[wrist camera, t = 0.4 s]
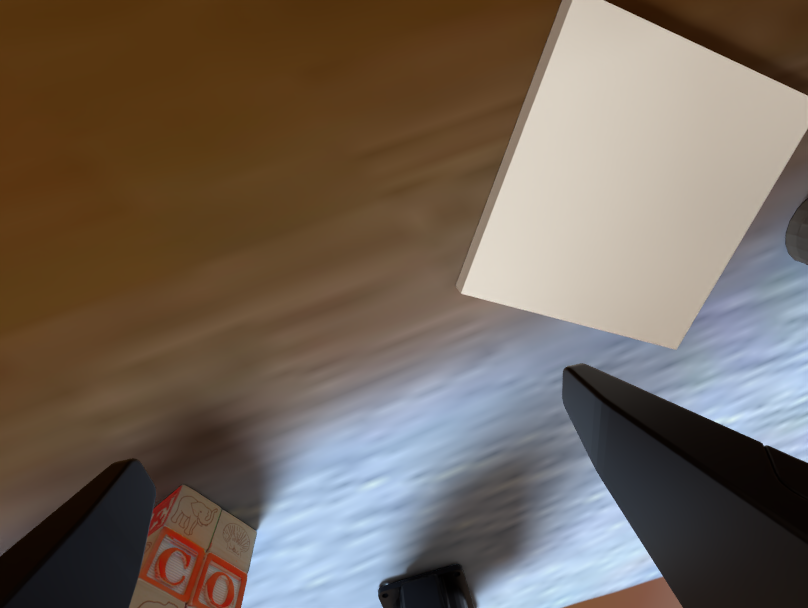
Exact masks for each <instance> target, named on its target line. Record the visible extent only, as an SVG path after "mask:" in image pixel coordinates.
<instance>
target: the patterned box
mask: <svg viewBox="0 0 808 608" xmlns="http://www.w3.org/2000/svg"><path fill="white" fill-rule="evenodd" d="M256 535H257V531H255V530H254V529H252V528H251V527H249V526H248V525H246V524H245V523H243V522H242V521H240V520H239V519H237V518H236V517H234V516H232V515H231V514H229V513H228V512H226V511H225V510H222V509H221V508H220V507H219V506H218V505H216V504H215V503H213V502H211V501H210V500H208V499H207V498H205V497H204V496H202V495H201V494H199V493H198V492H196V491H194V490H193V489H191V488H189V487H187V486H185V485H181V486H180V487H179V488H178V489H176V490H175V491H174V492H173V493H172V494H170V495H169V496H168V497H167V498H166V499H164V500H163V501H162V502H161V503H159V504H158V505H157V506H156V507H155V508H153V513H152V517H151V522H150V527H149V532H148V537H147V542H146V546H145V551H144V556H143V561H142V565H141V569H140V573H139V577H138V580H137V584H136V587H135V590H134V593H133V597H132V600H131V603H130V606H129V608H241V605H242V601H243V596H244V591H245V587H246V582H247V573H248V571H249V567H250V562H251V557H252V553H253V548H254V544H255V539H256Z"/></svg>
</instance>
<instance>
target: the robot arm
mask: <svg viewBox="0 0 808 608" xmlns="http://www.w3.org/2000/svg"><path fill="white" fill-rule="evenodd" d="M562 398H563V403H564V406H565V409H566V411H567V413H568V415H569V417H570V419H571V421H572V423H573V425H574V427H575V429H576V431H577V433H578V435H579V437H580V439H581V441H582V443H583V445H584V447H585V449H586V451H587V453H588V455H589V457H590V459H591V461H592V463H593V465H594V467H595V469H596V471H597V473H598V474H599V476H600V478H601V479H602V481H603V482H604V484H605V486H606V487H607V489H608V490H609V492H610V493H611V495H612V497H613V498H614V500H615V501H616V503H617V504H618V506H619V508H620V509H621V511H622V512H623V514H624V515H625V517H626V519H627V520H628V522H629V523H630V525H631V527H632V528H633V530H634V531H635V533H636V534H637V536H638V538H639V539H640V541H641V542H642V544H643V545H644V547H645V549H646V550H647V552H648V553H649V555H650V556H651V558H652V560H653V561H654V563H655V564H656V566H657V567H658V569H659V571H660V572H661V574H662V575H663V577H664V578H665V580H666V582H667V583H668V585H669V586H670V588H671V589H672V591H673V593H674V594H675V595H676V597H677V599H678V600H679V602H680V604H681V605H682V607H683V608H808V463H807V462H804V461H802V460H800V459H797V458H795V457H793V456H790V455H788V454H786V453H784V452H781V451H779V450H777V449H775V448H772V447H770V446H768V445H766V446H764V445H763V444H762V443H761V442H759V441H756V440H754V439H752V438H750V437H748V436H745V435H743V434H741V433H739V432H736V431H734V430H732V429H730V428H727V427H725V426H723V425H721V424H718V423H716V422H714V421H712V420H710V419H707V418H705V417H703V416H701V415H698V414H696V413H694V412H692V411H689V410H687V409H685V408H683V407H680V406H678V405H676V404H674V403H672V402H669V401H667V400H665V399H663V398H660V397H658V396H656V395H654V394H651V393H649V392H647V391H645V390H642V389H640V388H638V387H636V386H634V385H631V384H629V383H627V382H625V381H622V380H620V379H618V378H616V377H613V376H611V375H609V374H607V373H604V372H602V371H600V370H598V369H596V368H593V367H591V366H589V365H586V364H583V363H581V364H576V365H571V366H567V367H565V368H564V371H563V389H562ZM155 498H156V489H155V485H154V483H153V481H152V480H151V478H150V477H149V475H148V473H147V472H146V470H145V469H144V467H143V465H142V464H141V462H140V461H139V460H137V459H127V460H123V461H118V462H115V463H113V464H111V465H110V466H109V467H108V468H106V469H105V470H104V471H103V472H102V473H100V474H99V475H98V476H97V477H96V478H94V479H93V480H92V481H91V482H89V483H88V484H87V485H86V486H85V487H83V488H82V489H81V490H80V491H79V492H77V493H76V494H75V495H74V496H73V497H71V498H70V499H69V500H68V501H67V502H65V503H64V504H63V505H62V506H61V507H59V508H58V509H57V510H56V511H55V512H53V513H52V514H51V515H50V516H49V517H47V518H46V519H45V520H44V521H42V522H41V523H40V524H39V525H38V526H36V527H35V528H34V529H33V530H32V531H30V532H29V533H28V534H27V535H26V536H24V537H23V538H22V539H21V540H20V541H18V542H17V543H16V544H15V545H14V546H12V547H11V548H10V549H9V550H8V551H6V552H5V553H4V554H3V555H2V556H0V608H129V606H130V603H131V600H132V597H133V593H134V590H135V587H136V584H137V580H138V577H139V573H140V569H141V565H142V561H143V556H144V551H145V546H146V542H147V537H148V532H149V527H150V522H151V517H152V513H153V508H154V503H155ZM378 596H379V600H380V602H381V604H382V606H383V608H474V605H473V602H472V598H471V595H470V592H469V589H468V585H467V582H466V579H465V575H464V572H463V569H462V566H461V565H452V566H449V567H446V568H442V569H439V570H435V571H432V572H429V573H425V574H422V575H419V576H415V577H412V578H409V579H405V580H402V581H399V582H395V583H392V584H388V585H385V586H382V587H380V588H379V590H378Z"/></svg>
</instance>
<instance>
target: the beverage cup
mask: <svg viewBox="0 0 808 608" xmlns="http://www.w3.org/2000/svg"><path fill="white" fill-rule="evenodd" d="M786 247H787V250H788V253H789V255H790V256H791V257H792V258H793V259H794V260H796V261H799V262H802V263H805V264H806V265H808V199H807V200H806V201H805V202H804V203H803V204H802V205H801V206H800V207H799V208H798V209H797V211H796V213H795V214H794V216H793V217H792V219H791V221H790V223H789V226H788V229H787V232H786Z"/></svg>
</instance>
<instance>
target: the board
mask: <svg viewBox="0 0 808 608" xmlns="http://www.w3.org/2000/svg"><path fill="white" fill-rule="evenodd" d="M807 129H808V96H807V95H805V94H803V93H801V92H799V91H797V90H794V89H792V88H790V87H788V86H786V85H784V84H782V83H779V82H777V81H775V80H773V79H771V78H769V77H767V76H764V75H762V74H760V73H758V72H756V71H754V70H752V69H750V68H747V67H745V66H743V65H741V64H739V63H737V62H735V61H732V60H730V59H728V58H726V57H724V56H722V55H720V54H717V53H715V52H713V51H711V50H709V49H707V48H705V47H702V46H700V45H698V44H696V43H694V42H692V41H690V40H688V39H685V38H683V37H681V36H679V35H677V34H675V33H673V32H670V31H668V30H666V29H664V28H662V27H660V26H658V25H655V24H653V23H651V22H649V21H647V20H645V19H643V18H641V17H638V16H636V15H634V14H632V13H630V12H628V11H626V10H623V9H621V8H619V7H617V6H615V5H613V4H611V3H608V2H606V1H604V0H562V2H561V5H560V7H559V10H558V13H557V15H556V18H555V21H554V23H553V26H552V29H551V31H550V34H549V37H548V39H547V42H546V45H545V47H544V50H543V53H542V56H541V58H540V61H539V64H538V66H537V69H536V72H535V74H534V77H533V80H532V82H531V85H530V88H529V90H528V93H527V96H526V98H525V101H524V104H523V106H522V109H521V112H520V114H519V117H518V120H517V122H516V125H515V128H514V130H513V133H512V136H511V138H510V141H509V144H508V147H507V149H506V152H505V155H504V157H503V160H502V163H501V165H500V168H499V171H498V173H497V176H496V179H495V181H494V184H493V187H492V189H491V192H490V195H489V197H488V200H487V203H486V205H485V208H484V211H483V213H482V216H481V219H480V221H479V224H478V227H477V230H476V232H475V235H474V238H473V240H472V243H471V246H470V248H469V251H468V254H467V256H466V259H465V262H464V264H463V267H462V270H461V272H460V275H459V278H458V280H457V283H456V287H457V288H458V290H459V291H460V293H461V294H465V295H469V296H473V297H476V298H480V299H484V300H488V301H492V302H496V303H499V304H503V305H507V306H511V307H515V308H518V309H522V310H526V311H530V312H534V313H538V314H541V315H545V316H549V317H553V318H557V319H561V320H564V321H568V322H572V323H576V324H580V325H583V326H587V327H591V328H595V329H599V330H603V331H606V332H610V333H614V334H618V335H622V336H626V337H629V338H633V339H637V340H641V341H645V342H648V343H652V344H656V345H660V346H664V347H668V348H671V349H675V350H677V348H678V346H679V345H680V343H681V341H682V340H683V338H684V336H685V334H686V333H687V331H688V329H689V328H690V326H691V324H692V323H693V321H694V319H695V318H696V316H697V314H698V313H699V311H700V309H701V308H702V306H703V304H704V302H705V301H706V299H707V297H708V296H709V294H710V292H711V291H712V289H713V287H714V286H715V284H716V282H717V281H718V279H719V277H720V275H721V274H722V272H723V270H724V269H725V267H726V265H727V264H728V262H729V260H730V259H731V257H732V255H733V254H734V252H735V250H736V248H737V247H738V245H739V243H740V242H741V240H742V238H743V237H744V235H745V233H746V232H747V230H748V228H749V227H750V225H751V223H752V221H753V220H754V218H755V216H756V215H757V213H758V211H759V210H760V208H761V206H762V205H763V203H764V201H765V200H766V198H767V196H768V194H769V193H770V191H771V189H772V188H773V186H774V184H775V183H776V181H777V179H778V178H779V176H780V174H781V173H782V171H783V169H784V167H785V166H786V164H787V162H788V161H789V159H790V157H791V156H792V154H793V152H794V151H795V149H796V147H797V146H798V144H799V142H800V140H801V139H802V137H803V135H804V134H805V132H806V130H807Z"/></svg>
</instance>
